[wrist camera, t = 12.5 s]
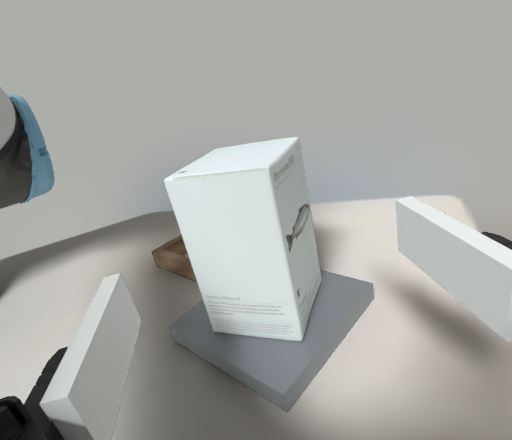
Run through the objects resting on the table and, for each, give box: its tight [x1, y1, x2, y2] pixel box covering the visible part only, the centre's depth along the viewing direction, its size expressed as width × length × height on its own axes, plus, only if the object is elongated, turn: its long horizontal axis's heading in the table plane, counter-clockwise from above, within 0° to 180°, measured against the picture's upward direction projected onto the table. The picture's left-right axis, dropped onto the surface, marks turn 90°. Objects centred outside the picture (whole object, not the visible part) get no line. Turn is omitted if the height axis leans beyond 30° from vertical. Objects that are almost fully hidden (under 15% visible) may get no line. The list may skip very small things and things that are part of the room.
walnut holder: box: [152, 235, 197, 282], centre depth 41 cm, size 12×12×2 cm
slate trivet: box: [169, 270, 374, 412], centre depth 28 cm, size 12×12×2 cm
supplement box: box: [164, 137, 322, 341], centre depth 25 cm, size 7×7×13 cm
